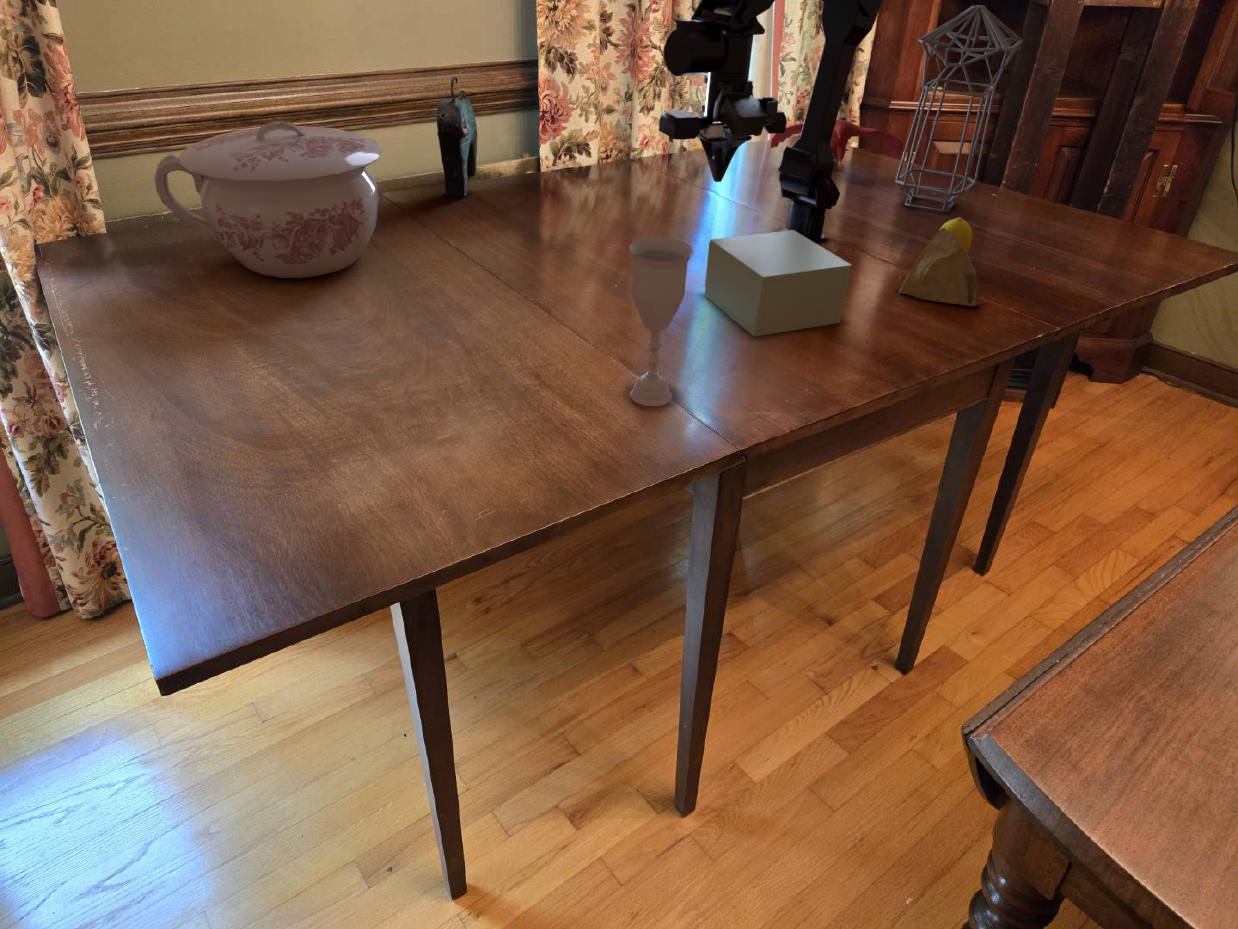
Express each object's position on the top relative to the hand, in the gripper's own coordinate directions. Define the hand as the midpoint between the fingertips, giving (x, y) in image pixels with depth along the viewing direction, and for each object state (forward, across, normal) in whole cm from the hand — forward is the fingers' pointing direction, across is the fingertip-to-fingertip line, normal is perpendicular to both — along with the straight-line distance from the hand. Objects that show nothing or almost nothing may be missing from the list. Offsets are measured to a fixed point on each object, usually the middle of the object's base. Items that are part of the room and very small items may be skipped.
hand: (717, 181), depth 127 cm
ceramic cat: (+13, -28, +52) cm, 61 cm away
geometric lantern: (+13, +57, +14) cm, 60 cm away
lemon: (+13, +38, -13) cm, 42 cm away
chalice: (+13, -27, -36) cm, 47 cm away
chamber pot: (+13, -61, +19) cm, 65 cm away
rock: (+13, +27, -24) cm, 38 cm away
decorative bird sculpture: (+13, +54, +43) cm, 70 cm away
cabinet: (+13, 0, -19) cm, 23 cm away
